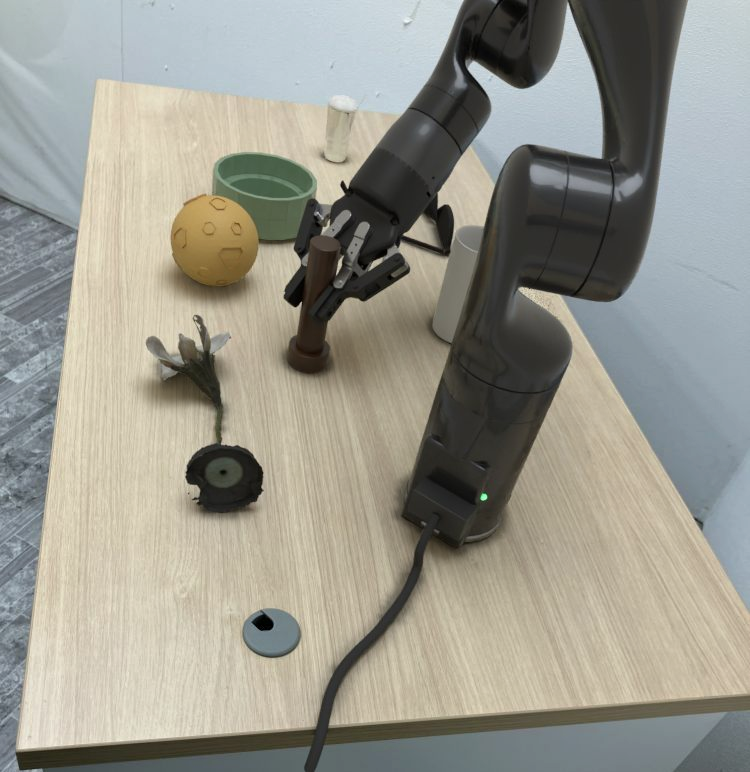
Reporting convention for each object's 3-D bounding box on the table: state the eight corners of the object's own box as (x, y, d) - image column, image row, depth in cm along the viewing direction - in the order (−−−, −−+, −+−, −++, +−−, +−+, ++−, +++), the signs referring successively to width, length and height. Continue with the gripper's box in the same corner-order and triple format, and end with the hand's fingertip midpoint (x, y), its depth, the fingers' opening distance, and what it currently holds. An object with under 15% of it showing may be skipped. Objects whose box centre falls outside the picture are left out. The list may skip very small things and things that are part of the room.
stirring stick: (311, 378, 86) (331, 259, 76) (278, 359, 87) (293, 240, 77) (335, 361, 89) (357, 245, 79) (303, 343, 90) (320, 226, 80)
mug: (486, 351, 96) (518, 260, 87) (431, 343, 95) (458, 250, 86) (478, 305, 103) (506, 217, 94) (426, 297, 102) (451, 207, 93)
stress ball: (191, 249, 99) (194, 169, 92) (266, 273, 99) (275, 195, 92) (154, 286, 92) (154, 203, 85) (235, 313, 91) (241, 231, 84)
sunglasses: (327, 192, 117) (332, 158, 113) (419, 197, 122) (427, 165, 118) (357, 253, 106) (364, 218, 103) (457, 256, 111) (467, 222, 107)
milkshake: (353, 167, 124) (365, 100, 117) (319, 161, 124) (329, 93, 117) (354, 155, 128) (366, 89, 121) (321, 149, 127) (330, 82, 120)
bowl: (270, 255, 102) (274, 210, 97) (190, 213, 105) (191, 168, 101) (329, 224, 110) (336, 181, 106) (254, 186, 114) (258, 143, 110)
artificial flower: (169, 526, 70) (134, 433, 63) (170, 387, 86) (142, 302, 80) (271, 505, 70) (247, 412, 64) (252, 371, 87) (232, 286, 80)
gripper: (341, 120, 80) (237, 262, 81) (448, 181, 74) (335, 333, 75) (368, 163, 87) (271, 293, 88) (467, 222, 81) (364, 360, 82)
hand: (301, 311), depth 82 cm, fingers closed on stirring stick, 3 cm apart
